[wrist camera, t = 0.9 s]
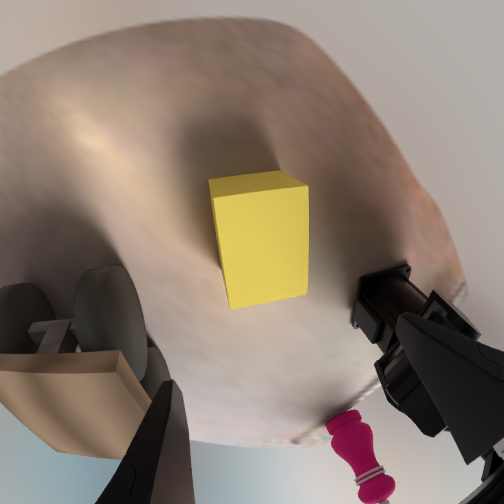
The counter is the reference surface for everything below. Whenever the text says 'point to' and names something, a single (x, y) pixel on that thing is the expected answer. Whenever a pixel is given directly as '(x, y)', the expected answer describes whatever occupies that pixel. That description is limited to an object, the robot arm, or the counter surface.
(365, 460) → the pepper mill
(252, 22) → the counter surface
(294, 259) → the block
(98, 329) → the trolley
